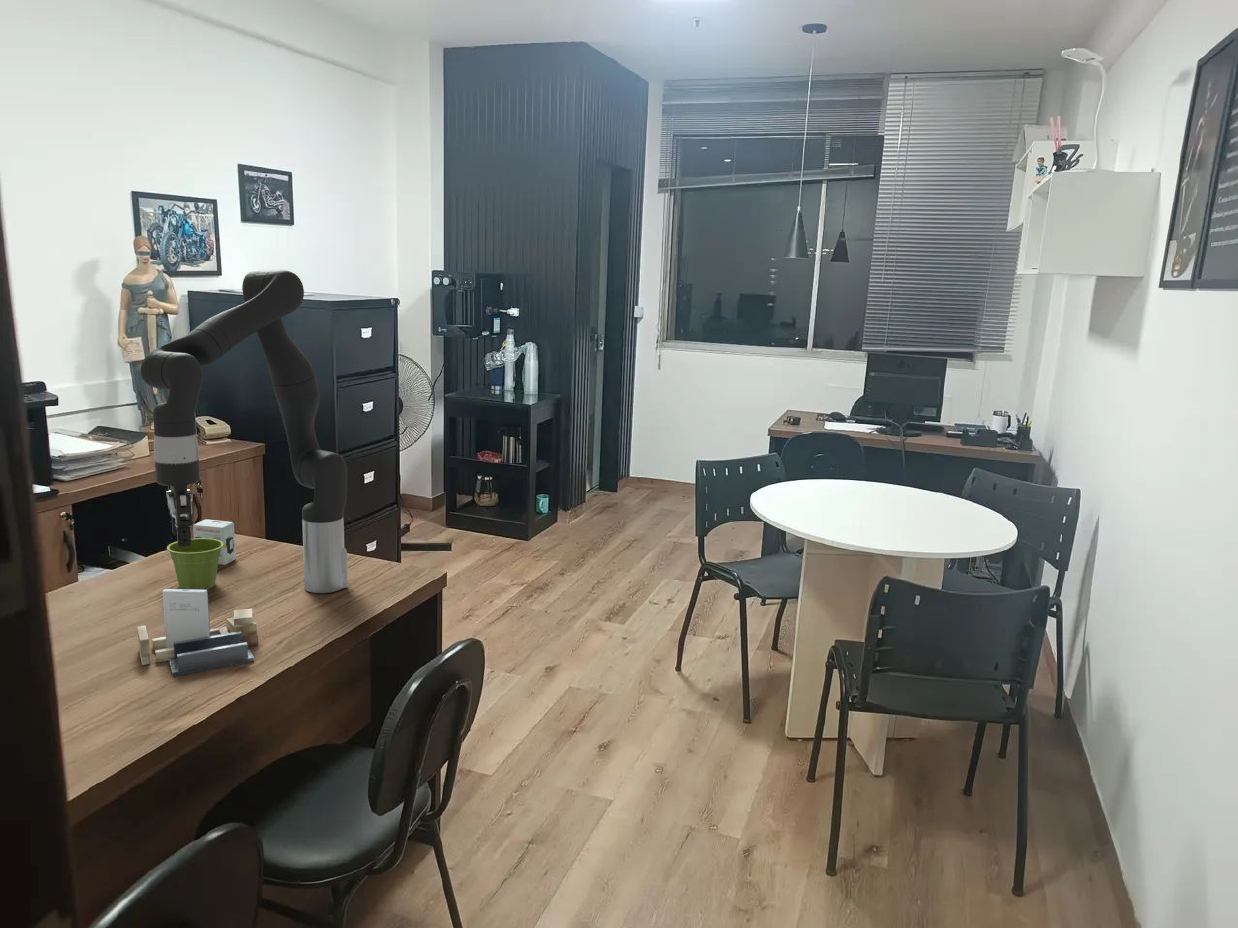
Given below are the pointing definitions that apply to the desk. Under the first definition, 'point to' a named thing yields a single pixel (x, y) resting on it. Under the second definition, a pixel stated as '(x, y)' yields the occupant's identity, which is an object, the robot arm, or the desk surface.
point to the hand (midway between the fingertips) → (181, 540)
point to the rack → (162, 645)
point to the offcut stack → (243, 626)
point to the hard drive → (185, 614)
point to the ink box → (218, 537)
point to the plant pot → (196, 562)
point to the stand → (209, 653)
